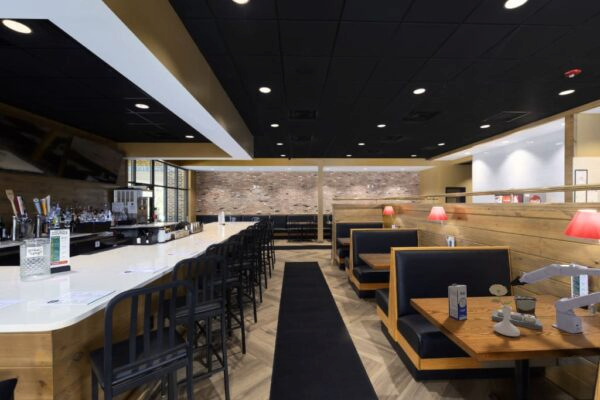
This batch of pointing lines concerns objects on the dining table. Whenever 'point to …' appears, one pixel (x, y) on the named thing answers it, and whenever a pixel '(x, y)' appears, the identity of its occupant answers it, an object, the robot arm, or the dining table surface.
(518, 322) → the keypad
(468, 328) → the dining table surface
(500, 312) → the sage key
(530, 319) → the cream key
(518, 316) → the grey key
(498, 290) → the flower in vase
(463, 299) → the milk carton
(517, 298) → the food container
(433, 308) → the dining table surface
